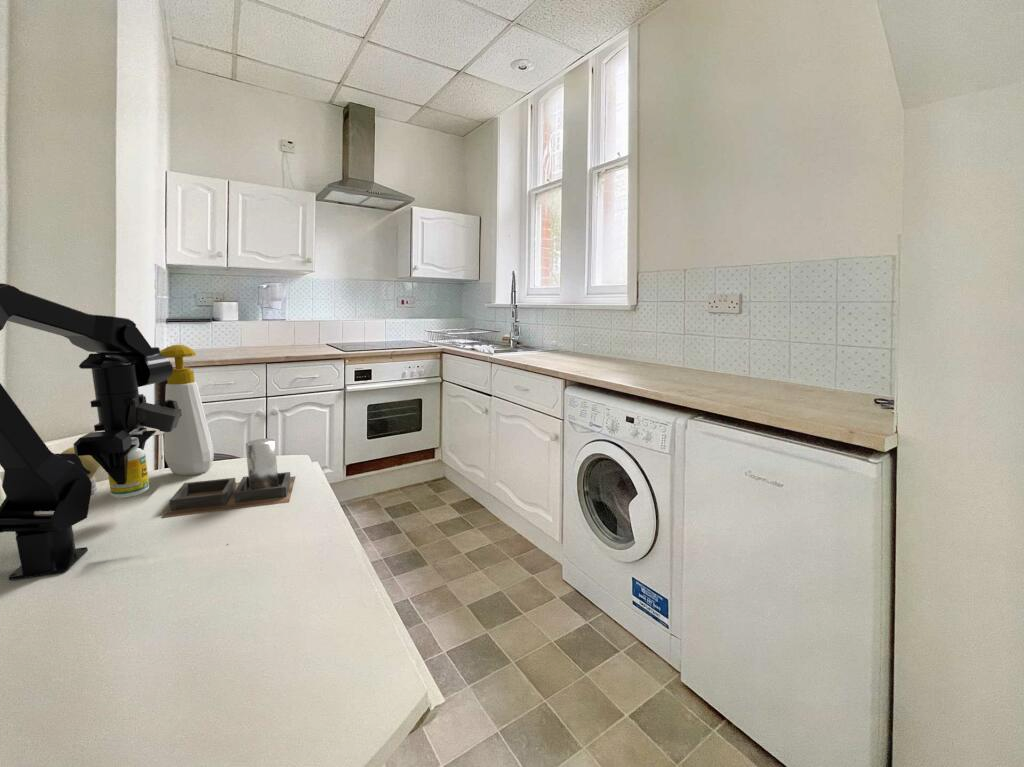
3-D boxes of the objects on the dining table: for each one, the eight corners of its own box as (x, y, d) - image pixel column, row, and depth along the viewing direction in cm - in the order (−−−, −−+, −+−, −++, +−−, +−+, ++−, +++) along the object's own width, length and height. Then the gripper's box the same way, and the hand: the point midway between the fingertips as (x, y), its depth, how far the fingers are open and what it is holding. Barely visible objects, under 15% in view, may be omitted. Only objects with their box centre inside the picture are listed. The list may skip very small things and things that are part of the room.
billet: (277, 494, 90) (273, 444, 89) (247, 498, 89) (243, 447, 87) (280, 485, 95) (276, 437, 93) (252, 488, 93) (248, 440, 92)
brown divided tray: (289, 509, 87) (288, 491, 87) (161, 526, 80) (159, 507, 80) (296, 482, 100) (294, 467, 100) (186, 495, 93) (184, 478, 93)
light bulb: (85, 501, 90) (78, 451, 89) (53, 501, 90) (45, 451, 89) (114, 488, 97) (107, 441, 95) (84, 488, 97) (76, 441, 95)
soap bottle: (147, 477, 103) (129, 345, 98) (199, 464, 111) (185, 342, 106) (172, 490, 96) (155, 348, 91) (225, 475, 104) (212, 345, 99)
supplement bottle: (111, 491, 84) (104, 439, 82) (149, 484, 87) (142, 434, 85) (110, 500, 80) (102, 446, 78) (150, 493, 83) (143, 440, 81)
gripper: (153, 399, 74) (165, 492, 77) (188, 381, 92) (196, 457, 94) (65, 403, 71) (80, 501, 73) (118, 384, 88) (129, 463, 90)
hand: (128, 478), depth 83 cm, fingers closed on supplement bottle, 5 cm apart
